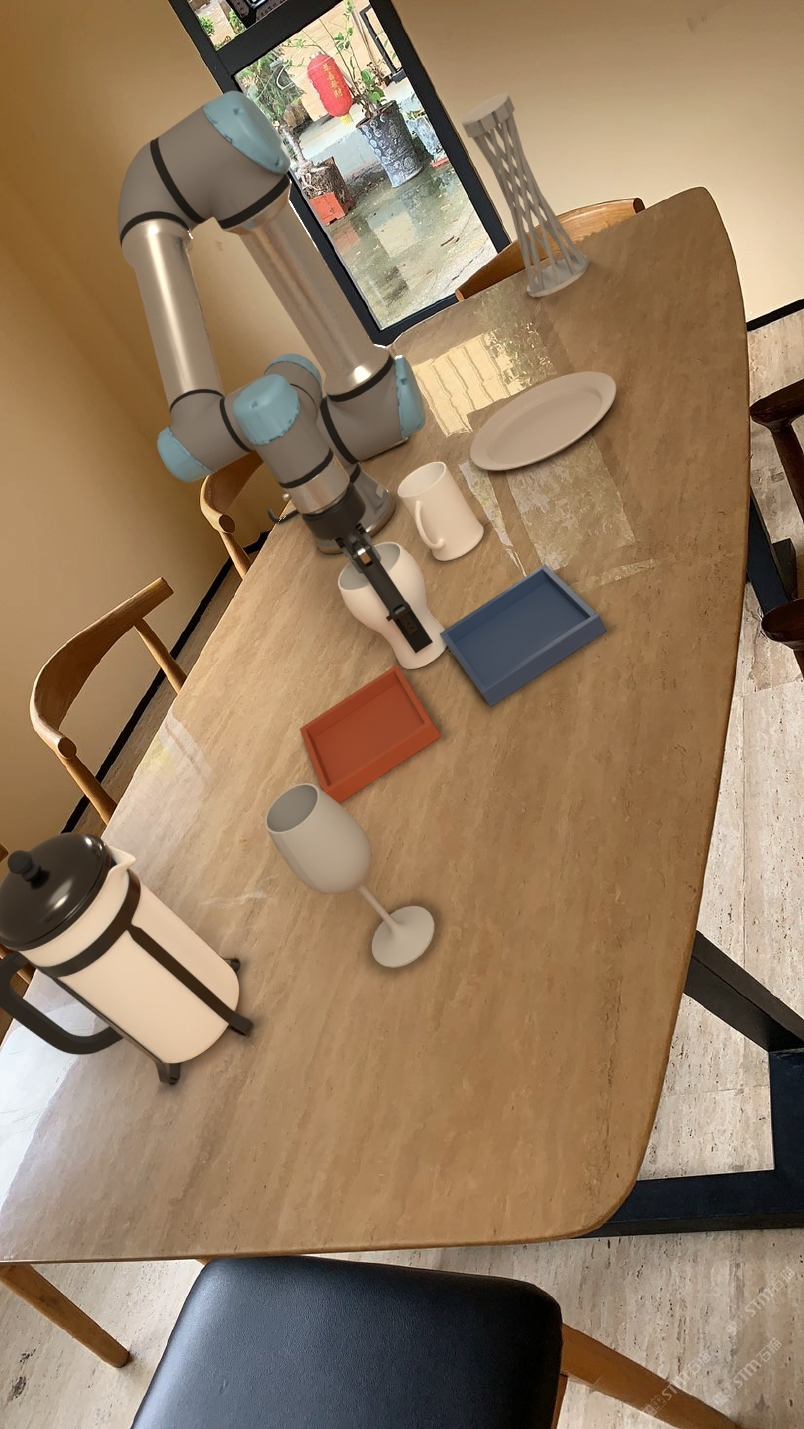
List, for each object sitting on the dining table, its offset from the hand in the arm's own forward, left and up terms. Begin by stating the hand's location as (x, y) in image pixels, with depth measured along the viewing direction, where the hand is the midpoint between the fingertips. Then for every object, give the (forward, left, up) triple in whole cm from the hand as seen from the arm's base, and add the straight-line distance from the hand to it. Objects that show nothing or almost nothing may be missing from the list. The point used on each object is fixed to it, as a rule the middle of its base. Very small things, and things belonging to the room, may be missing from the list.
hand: (411, 628), depth 139 cm
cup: (0, 0, -4) cm, 4 cm away
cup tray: (+11, -12, -4) cm, 17 cm away
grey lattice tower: (-92, +65, -4) cm, 113 cm away
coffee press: (+39, -43, -4) cm, 58 cm away
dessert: (-71, +16, -4) cm, 73 cm away
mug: (-19, +12, -4) cm, 23 cm away
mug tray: (+11, +11, -4) cm, 16 cm away
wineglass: (+44, -18, -4) cm, 48 cm away
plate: (-36, +36, -4) cm, 51 cm away
